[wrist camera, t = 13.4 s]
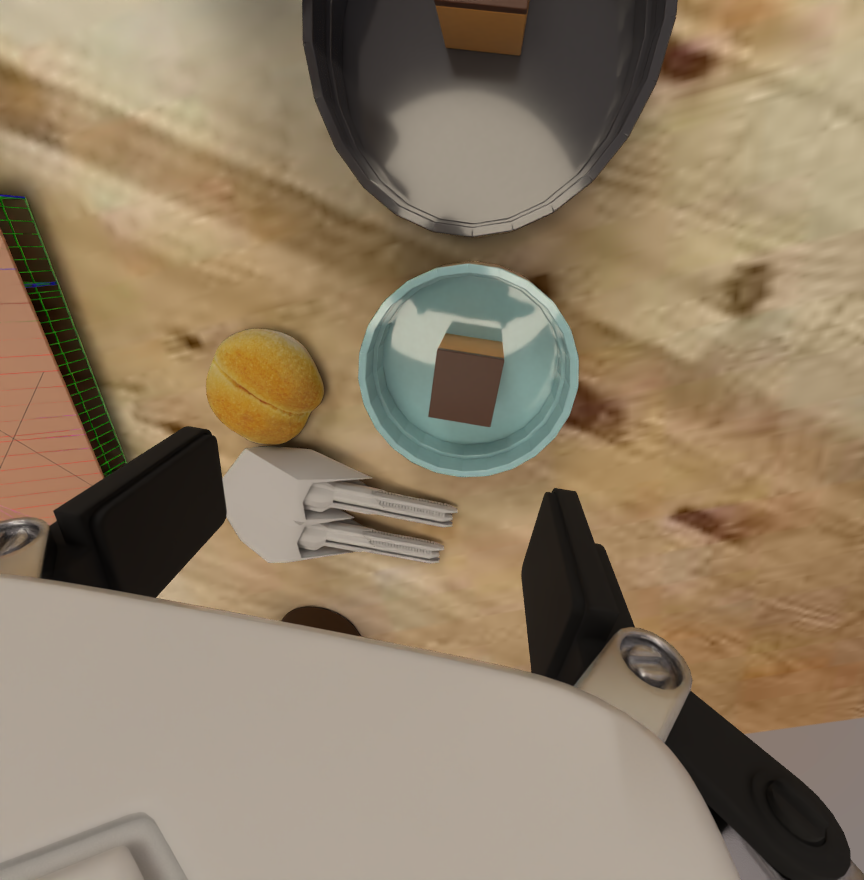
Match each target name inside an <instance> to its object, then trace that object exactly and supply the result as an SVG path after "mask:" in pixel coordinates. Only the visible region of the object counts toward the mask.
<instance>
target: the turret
mask: <svg viewBox="0 0 864 880" xmlns="http://www.w3.org/2000/svg"><path fill="white" fill-rule="evenodd" d="M369 478H372V477H370V476H367V475H365V474H363V473H361V472H359V471H357V470H355V469H352V468H350V467H348V466H346V465H344V464H342V463H339V462H337V461H335V460H333V459H331V458H329V457H327V456H324V455H322V454H320V453H318V452H316V451H314V450H311V449H301V448H288V447H275V446H261V447H252V448H245V449H244V450H243V452H242V453H241V454H240V456H239V457H238V458H237V460H236V461H235V462H234V464H233V465H232V466H231V468H230V469H229V470H228V472H227V473H226V474H225V476H224V477H223V478H222V480H223V487H224V494H225V501H226V509H227V515H226V517H227V519H228V520H229V522H230V524H231V525H232V527H233V529H234V530H235V532H236V534H237V535H238V537H239V538H240V540H241V541H242V542H243V543H245V544H246V545H247V546H248V547H250V548H251V549H252V550H253V551H255V552H256V553H257V554H258V555H260V556H261V557H262V558H263V559H264V560H266V561H267V562H268V563H286V562H294V561H300V560H306V559H313V558H319V557H325V556H332V555H338V554H344V553H351V552H363V551H364V552H370V553H375V554H381V555H386V556H392V557H397V558H403V559H409V560H414V561H420V562H425V563H438V562H439V558H438V557H439V550H444V546H443V545H441V544H439V543H437V542H435V541H429V540H424V539H419V538H413V537H408V536H403V535H397V534H392V533H387V532H381V531H376V530H375V529H372V528H367V527H364V526H362V525H360V524H359V523H357V522H355V521H353V520H351V519H350V518H354V517H353V516H351V515H349V514H347V513H345V512H343V511H342V510H348V511H353V512H358V513H363V514H377V515H382V516H387V517H392V518H397V519H403V520H408V521H413V522H418V523H423V524H428V525H434V526H439V527H451V526H452V522H451V521H449V520H452V519H453V518H452V514H451V513H457V512H458V511H457V508H455V507H453V506H451V505H449V504H445V503H440V502H435V501H430V500H425V499H420V498H415V497H410V496H405V495H400V494H395V493H390V492H386V491H384V490H382V489H377V488H372V487H369V486H368V485H366V484H364V483H362V482H361V481H359V480H357V479H369ZM340 509H342V510H340Z"/></svg>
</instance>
